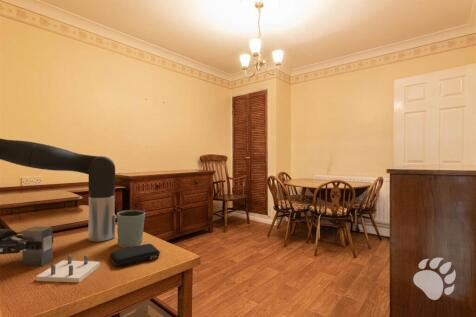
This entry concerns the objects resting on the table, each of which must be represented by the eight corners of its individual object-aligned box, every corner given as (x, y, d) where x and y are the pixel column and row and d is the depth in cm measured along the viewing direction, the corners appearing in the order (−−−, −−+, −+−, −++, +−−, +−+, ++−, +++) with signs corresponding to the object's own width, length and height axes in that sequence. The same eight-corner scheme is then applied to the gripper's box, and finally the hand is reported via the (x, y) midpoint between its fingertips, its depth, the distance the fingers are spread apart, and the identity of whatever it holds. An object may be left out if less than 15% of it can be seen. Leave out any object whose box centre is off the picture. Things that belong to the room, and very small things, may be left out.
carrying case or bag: (115, 272, 75) (163, 259, 84) (115, 262, 74) (163, 250, 84) (108, 259, 83) (152, 249, 92) (108, 250, 83) (152, 241, 92)
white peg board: (62, 264, 78) (62, 252, 78) (100, 265, 78) (100, 253, 78) (35, 280, 68) (35, 267, 68) (79, 282, 68) (79, 269, 68)
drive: (34, 260, 80) (34, 226, 80) (52, 260, 80) (52, 227, 80) (22, 266, 76) (22, 230, 76) (42, 266, 76) (42, 231, 75)
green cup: (117, 240, 99) (117, 210, 99) (144, 237, 103) (144, 209, 103) (115, 250, 90) (116, 217, 89) (145, 246, 94) (145, 215, 93)
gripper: (-33, 237, 71) (26, 239, 70) (14, 222, 85) (63, 224, 85) (-32, 263, 71) (26, 265, 71) (13, 244, 85) (63, 246, 85)
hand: (46, 243), depth 78 cm, fingers closed on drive, 4 cm apart
